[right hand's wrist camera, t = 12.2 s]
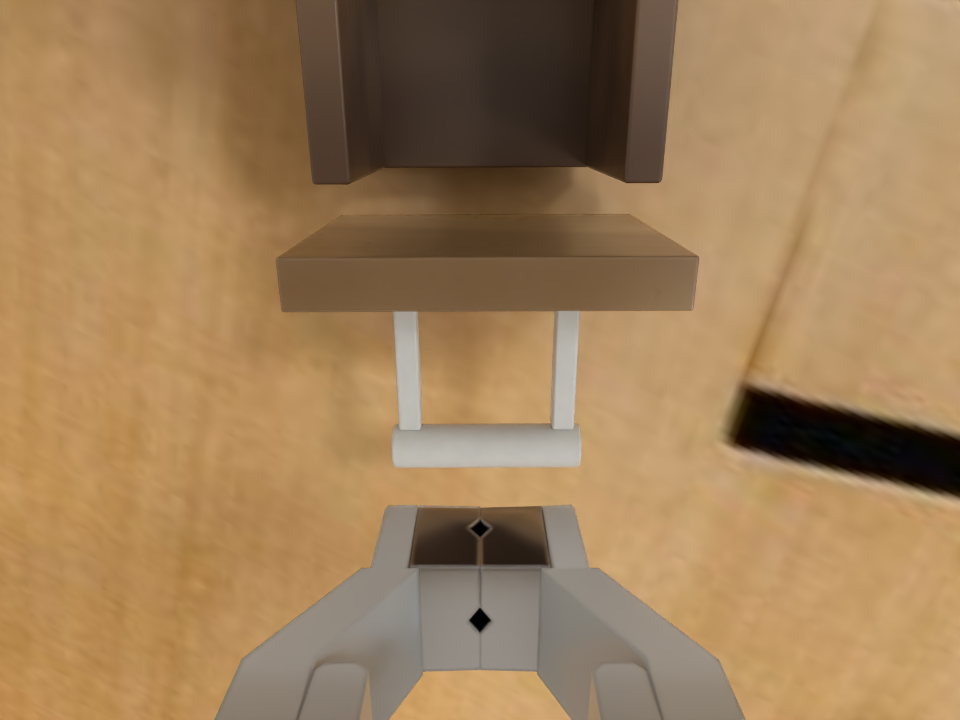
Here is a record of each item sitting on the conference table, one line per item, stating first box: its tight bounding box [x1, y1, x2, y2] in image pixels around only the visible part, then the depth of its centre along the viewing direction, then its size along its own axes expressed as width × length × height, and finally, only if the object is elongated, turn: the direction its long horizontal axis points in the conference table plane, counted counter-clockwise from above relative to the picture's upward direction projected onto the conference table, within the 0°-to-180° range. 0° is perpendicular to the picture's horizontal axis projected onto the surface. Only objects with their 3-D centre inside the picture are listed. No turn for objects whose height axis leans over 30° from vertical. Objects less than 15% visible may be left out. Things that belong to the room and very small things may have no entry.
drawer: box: [276, 0, 699, 468], centre depth 15 cm, size 22×9×7 cm, turn 0°
